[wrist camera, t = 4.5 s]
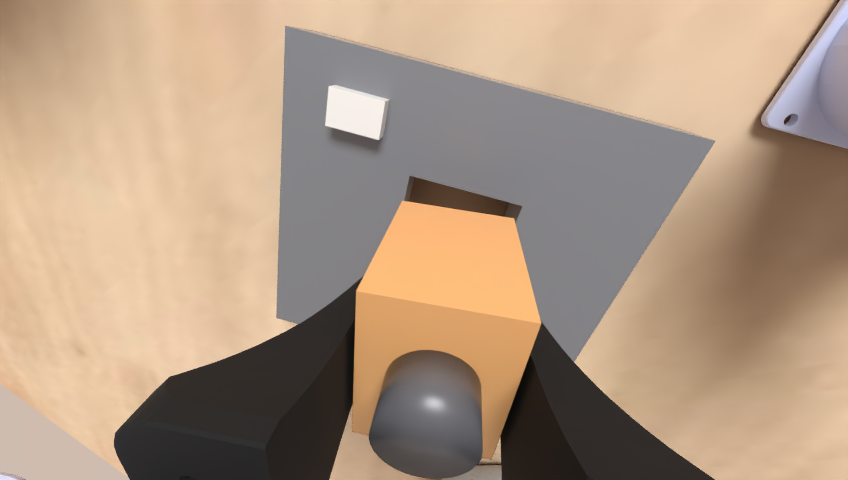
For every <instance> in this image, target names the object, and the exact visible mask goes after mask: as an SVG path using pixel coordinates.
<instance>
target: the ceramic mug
mask: <svg viewBox="0 0 848 480" xmlns="http://www.w3.org/2000/svg"><path fill="white" fill-rule="evenodd" d="M436 480H502V470H501V465H476V466H475V467H474V468H473V469H472V470H470V471H469V472H467V473H465V474H462V475H459V476H456V477H452V478H444V479H436Z"/></svg>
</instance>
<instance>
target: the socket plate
mask: <svg viewBox="0 0 848 480" xmlns="http://www.w3.org/2000/svg"><path fill="white" fill-rule="evenodd" d="M714 143H715V141H714V140H711V139H708V138H705V137H702V136H699V135H696V134H693V133H690V132H687V131H684V130H681V129H678V128H674V127H671V126H667V125H663V124H659V123H656V122H652V121H648V120H644V119H641V118H637V117H633V116H629V115H626V114H622V113H618V112H615V111H611V110H607V109H603V108H600V107H596V106H592V105H588V104H585V103H581V102H577V101H574V100H570V99H566V98H562V97H559V96H555V95H551V94H547V93H544V92H540V91H536V90H533V89H529V88H525V87H521V86H518V85H514V84H510V83H506V82H503V81H499V80H495V79H492V78H488V77H484V76H480V75H477V74H473V73H469V72H465V71H462V70H458V69H454V68H450V67H447V66H443V65H439V64H436V63H432V62H428V61H424V60H421V59H417V58H413V57H409V56H406V55H402V54H398V53H395V52H391V51H387V50H383V49H380V48H376V47H372V46H368V45H365V44H361V43H357V42H354V41H350V40H346V39H342V38H339V37H335V36H331V35H327V34H324V33H320V32H316V31H311V30H306V29H300V28H295V27H290V26H285V55H284V88H283V120H282V153H281V185H280V218H279V250H278V283H277V315H276V318H279V319H282V320H286V321H290V322H293V323H297V324H300V323H301V322H303V321H305V320H306V319H308V318H309V317H311V316H312V315H314V314H315V313H317V312H318V311H320V310H321V309H322V308H324V307H325V306H327V305H328V304H329V303H331V302H332V301H333V300H335V299H336V298H337V297H338V296H340V295H341V294H342V293H343V292H345V291H346V290H347V289H348V288H350V287H351V286H352V285H353V284H354V283H356V282H357V281H358V280H359V279H360V278H361V277H362V276H363V275H365V273H366V271H367V269H368V267H369V265H370V263H371V261H372V259H373V257H374V255H375V253H376V251H377V249H378V247H379V245H380V243H381V241H382V239H383V238H384V236H385V234H386V232H387V230H388V228H389V226H390V224H391V222H392V220H393V218H394V216H395V214H396V212H397V210H398V208H399V206H400V204H401V202H402V201H407V202H409V200H410V196H411V191H412V187H413V183H414V178H415V177H416V178H420V179H424V180H428V181H431V182H435V183H439V184H442V185H446V186H450V187H454V188H457V189H461V190H465V191H468V192H472V193H476V194H479V195H483V196H487V197H491V198H494V199H498V200H502V201H505V202H509V205H508V208H507V210H506V213H505V215H504V217H509V218H514V220H515V224H516V228H517V232H518V235H519V239H520V243H521V247H522V251H523V255H524V259H525V262H526V266H527V270H528V274H529V278H530V282H531V286H532V289H533V293H534V297H535V301H536V305H537V309H538V313H539V316H540V320H541V321H542V323H543V324H544V325H545V327H546V328H547V329H548V331H549V332H550V333H551V335H552V336H553V337H554V339H555V340H556V341H557V343H558V344H559V345H560V346H561V348H562V349H563V350H564V351H565V352H566V353H567V355H568V356H569V357H570V358H571V359H572V361H573V362H574V361H575V360H576V358H577V356H578V355H579V353H580V352H581V350H582V349H583V347H584V345H585V344H586V342H587V341H588V339H589V338H590V336H591V335H592V333H593V331H594V330H595V328H596V327H597V325H598V324H599V322H600V321H601V319H602V317H603V316H604V314H605V313H606V311H607V310H608V308H609V306H610V305H611V303H612V302H613V300H614V299H615V297H616V296H617V294H618V292H619V291H620V289H621V288H622V286H623V285H624V283H625V281H626V280H627V278H628V277H629V275H630V274H631V272H632V271H633V269H634V267H635V266H636V264H637V263H638V261H639V260H640V258H641V257H642V255H643V253H644V252H645V250H646V249H647V247H648V246H649V244H650V242H651V241H652V239H653V238H654V236H655V235H656V233H657V232H658V230H659V228H660V227H661V225H662V224H663V222H664V221H665V219H666V217H667V216H668V214H669V213H670V211H671V210H672V208H673V207H674V205H675V203H676V202H677V200H678V199H679V197H680V196H681V194H682V193H683V191H684V189H685V188H686V186H687V185H688V183H689V182H690V180H691V178H692V177H693V175H694V174H695V172H696V171H697V169H698V168H699V166H700V164H701V163H702V161H703V160H704V158H705V157H706V155H707V153H708V152H709V150H710V149H711V147H712V146H713V144H714Z"/></svg>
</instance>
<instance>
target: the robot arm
mask: <svg viewBox="0 0 848 480" xmlns="http://www.w3.org/2000/svg"><path fill="white" fill-rule="evenodd" d="M790 114H791V118H790V120H789V121H788V122H787V123H786V124H784V120H785V118H786V117H787V116H788V115H790ZM761 123H762V125H763V126H765V127H768V128H772V129H775V130H779V131H783V132H786V133H790V134H794V135H798V136H801V137H805V138H809V139H813V140H816V141H820V142H824V143H828V144H831V145H835V146H839V147H842V148H846V149H848V0H840V1H839V3H838V4H837V6H836V7H835V9H834V10H833V11H832V13H831V14H830V16H829V17H828V19H827V20H826V22H825V23H824V25H823V26H822V28H821V29H820V31H819V32H818V33H817V35H816V36H815V38H814V39H813V41H812V42H811V44H810V45H809V47H808V48H807V50H806V51H805V53H804V54H803V56H802V57H801V58H800V60H799V61H798V63H797V64H796V66H795V67H794V69H793V70H792V72H791V73H790V75H789V76H788V78H787V79H786V80H785V82H784V83H783V85H782V86H781V88H780V89H779V91H778V92H777V94H776V95H775V97H774V98H773V100H772V101H771V102H770V104H769V105H768V107H767V108H766V110H765V111H764V113H763V115H762V117H761ZM363 277H364V275H363V276H362V277H361V278H360V279H359V280H358V281H357V282H356V283H354V284H353V285H352V286H351V287H350V288H348V289H347V290H346V291H345V292H343V293H342V294H341V295H340V296H338V297H337V298H336V299H335V300H333V301H332V302H331V303H329V304H328V305H327V306H325V307H324V308H322V309H321V310H320V311H318V312H317V313H315V314H314V315H312V316H311V317H309V318H308V319H306V320H305V321H303V322H301V323H300V324H298V325H296V326H295V327H293V328H291V329H289V330H288V331H286V332H284V333H282V334H280V335H278V336H276V337H274V338H272V339H269V340H267V341H265V342H263V343H261V344H259V345H257V346H255V347H253V348H250V349H248V350H245V351H243V352H241V353H238V354H236V355H233V356H231V357H228V358H225V359H223V360H220V361H217V362H215V363H212V364H209V365H206V366H202V367H199V368H196V369H193V370H190V371H187V372H184V373H181V374H178V375H174V376H171V377H169V378H168V379H167V380H166V381H165V382H164V383H163V384H162V385H160V386H159V387H158V388H157V389H156V390H155V391H154V392H153V393H152V394H151V395H150V396H149V397H148V399H147V400H146V401H145V402H144V403H143V404H142V405H141V406H140V407H139V408H138V409H137V410H136V411H135V412H134V413H133V414H132V415H131V416H130V417H129V419H128V420H127V421H126V422H125V423H124V424H123V425H122V426H121V427H120V428H119V429H118V430H117V432H116V433H115V438H114V447H115V450H116V453H117V456H118V458H119V460H120V462H121V464H122V466H123V467H124V469H125V471H126V473H127V475H128V477H129V479H130V480H329V478H330V475H331V471H332V468H333V465H334V461H335V458H336V455H337V451H338V448H339V445H340V441H341V438H342V435H343V432H344V428H345V425H346V422H347V419H348V415H349V412H350V409H351V407H352V404H353V383H354V348H355V313H356V290H357V288H358V286H359V284H360V282H361V281H362V279H363ZM500 437H501V470H502V480H715V479H713V478H712V477H710V476H709V475H707V474H706V473H705V472H703V471H702V470H700V469H699V468H697V467H696V466H694V465H693V464H692V463H690V462H689V461H687V460H686V459H684V458H683V457H682V456H680V455H679V454H677V453H676V452H674V451H673V450H672V449H670V448H669V447H668V446H666V445H665V444H664V443H663V442H661V441H660V440H659V439H657V438H656V437H655V436H654V435H652V434H651V433H650V432H648V431H647V430H646V429H645V428H643V427H642V426H641V425H640V424H638V423H637V422H636V421H635V420H634V419H632V418H631V417H630V416H629V415H628V414H627V413H625V412H624V411H623V410H622V409H621V408H620V407H619V406H618V405H616V404H615V403H614V402H613V401H612V400H611V399H610V398H609V397H608V396H606V395H605V394H604V393H603V392H602V391H601V390H600V389H599V388H598V387H597V386H596V385H595V384H594V383H593V382H592V381H591V380H590V379H589V378H588V377H587V376H586V375H585V374H584V373H583V372H582V371H581V369H580V368H579V367H578V366H577V365H576V364H575V363H574V362H573V361H572V359H571V358H570V357H569V356H568V355H567V353H566V352H565V351H564V350H563V349H562V348H561V346H560V345H559V344H558V343H557V341H556V340H555V339H554V337H553V336H552V335H551V333H550V332H549V331H548V329H547V328H546V327H545V325H544V324H543V323H542V321H541V326H540V328H539V331H538V334H537V337H536V339H535V342H534V345H533V348H532V350H531V353H530V356H529V359H528V361H527V364H526V367H525V370H524V372H523V375H522V378H521V381H520V383H519V386H518V389H517V392H516V394H515V397H514V400H513V403H512V405H511V408H510V411H509V413H508V416H507V419H506V422H505V424H504V427H503V430H502V433H501V435H500ZM0 480H25V479H23V478H22V477H19V476H16V475H13V474H8V473H3V472H0Z"/></svg>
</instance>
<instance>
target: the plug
mask: <svg viewBox="0 0 848 480" xmlns="http://www.w3.org/2000/svg"><path fill="white" fill-rule="evenodd" d="M540 326H541V320H540V316H539V313H538V309H537V305H536V301H535V297H534V293H533V289H532V286H531V282H530V278H529V274H528V270H527V266H526V262H525V259H524V255H523V251H522V247H521V243H520V239H519V235H518V232H517V228H516V224H515V220H514V218H509V217H502V216H496V215H490V214H483V213H477V212H471V211H464V210H458V209H452V208H445V207H439V206H433V205H426V204H420V203H414V202H407V201H402V202H401V204H400V206H399V208H398V210H397V212H396V214H395V216H394V218H393V220H392V222H391V224H390V226H389V228H388V230H387V232H386V234H385V236H384V238H383V239H382V241H381V243H380V245H379V247H378V249H377V251H376V253H375V255H374V257H373V259H372V261H371V263H370V265H369V267H368V269H367V271H366V273H365V275H364V277H363V279H362V281H361V282H360V284H359V286H358V288H357V290H356V313H355V348H354V383H353V418H352V432H355V433H360V434H365V435H369V441H370V444H371V446H372V448H373V450H374V452H375V453H376V454H377V455H378V457H380V458H381V459H382V460H383V461H384V462H385V463H387V464H388V465H390V466H391V467H393V468H395V469H397V470H399V471H401V472H404V473H406V474H410V475H413V476H417V477H422V478H430V479H444V478H452V477H456V476H459V475H462V474H465V473H467V472H469V471H470V470H472V469H473V468H474V467H475V466H476V465H477V464H478V463H479V461H480V460H481V458H486V459H491V460H492V457H493V455H494V452H495V449H496V446H497V444H498V441H499V438H500V435H501V433H502V430H503V427H504V424H505V422H506V419H507V416H508V413H509V411H510V408H511V405H512V403H513V400H514V397H515V394H516V392H517V389H518V386H519V383H520V381H521V378H522V375H523V372H524V370H525V367H526V364H527V361H528V359H529V356H530V353H531V350H532V348H533V345H534V342H535V339H536V337H537V334H538V331H539V328H540Z"/></svg>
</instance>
